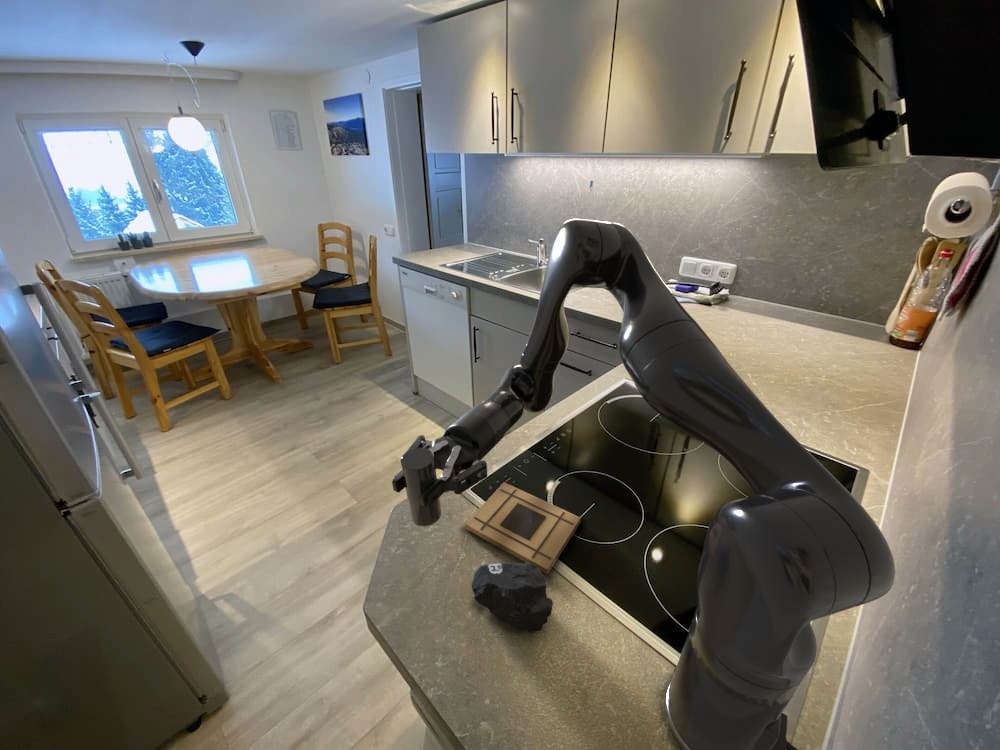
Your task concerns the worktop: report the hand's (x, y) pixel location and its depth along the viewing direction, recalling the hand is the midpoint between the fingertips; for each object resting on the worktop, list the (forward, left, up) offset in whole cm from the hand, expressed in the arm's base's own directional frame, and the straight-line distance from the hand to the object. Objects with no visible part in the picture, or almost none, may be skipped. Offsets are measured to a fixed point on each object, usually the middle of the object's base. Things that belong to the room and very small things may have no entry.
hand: (408, 494), depth 58 cm
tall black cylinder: (0, -3, -6) cm, 7 cm away
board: (-10, -15, -15) cm, 24 cm away
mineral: (-16, -3, -15) cm, 22 cm away
